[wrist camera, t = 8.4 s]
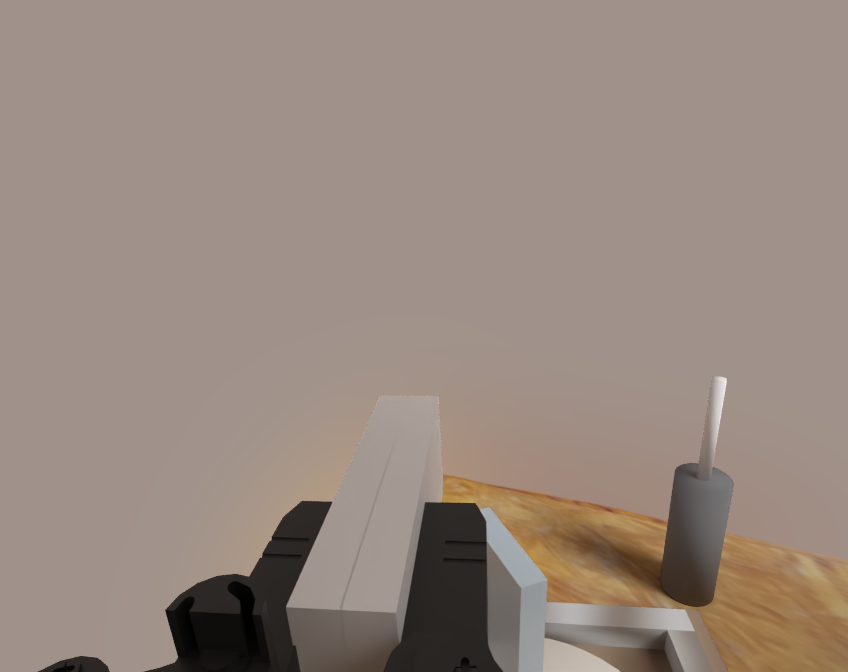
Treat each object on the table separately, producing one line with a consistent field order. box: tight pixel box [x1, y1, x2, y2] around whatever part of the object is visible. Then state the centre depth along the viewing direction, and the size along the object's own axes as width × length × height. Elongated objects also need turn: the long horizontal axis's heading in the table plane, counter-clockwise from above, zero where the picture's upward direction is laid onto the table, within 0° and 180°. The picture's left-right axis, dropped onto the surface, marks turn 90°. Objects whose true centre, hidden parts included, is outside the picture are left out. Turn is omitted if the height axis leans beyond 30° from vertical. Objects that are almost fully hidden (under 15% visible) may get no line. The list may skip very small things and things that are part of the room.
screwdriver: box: [660, 376, 734, 607], centre depth 34 cm, size 3×3×16 cm
